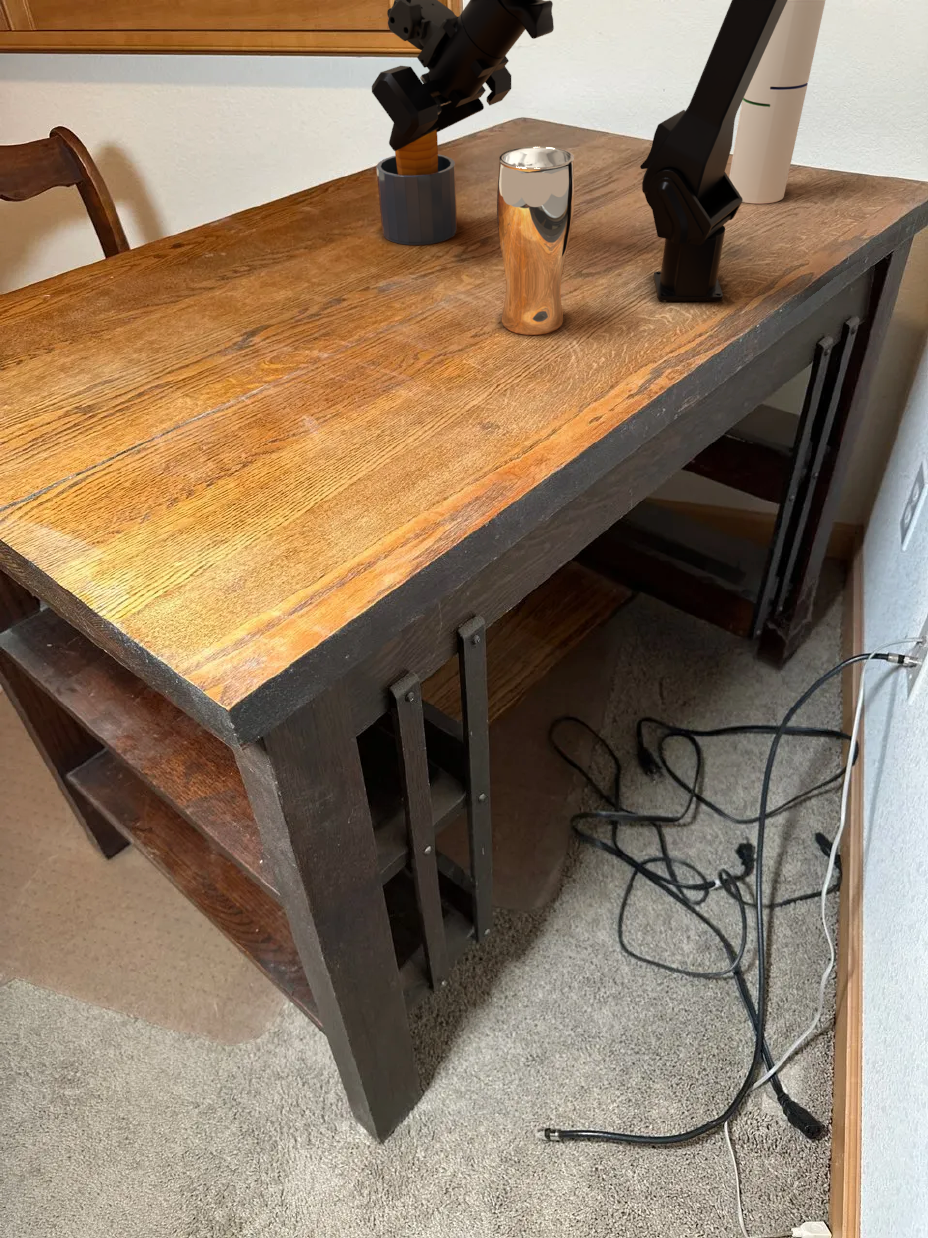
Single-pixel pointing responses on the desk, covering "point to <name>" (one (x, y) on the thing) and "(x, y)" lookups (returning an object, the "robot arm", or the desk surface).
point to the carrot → (419, 156)
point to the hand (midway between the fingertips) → (406, 141)
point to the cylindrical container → (775, 105)
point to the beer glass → (534, 234)
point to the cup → (417, 203)
